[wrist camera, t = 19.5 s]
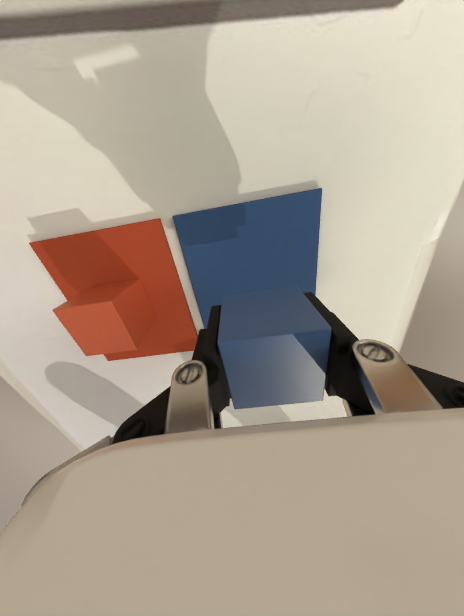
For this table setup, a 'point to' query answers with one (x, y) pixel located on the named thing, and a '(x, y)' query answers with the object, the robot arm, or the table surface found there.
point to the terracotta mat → (126, 278)
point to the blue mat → (251, 246)
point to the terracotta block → (108, 317)
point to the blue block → (273, 347)
